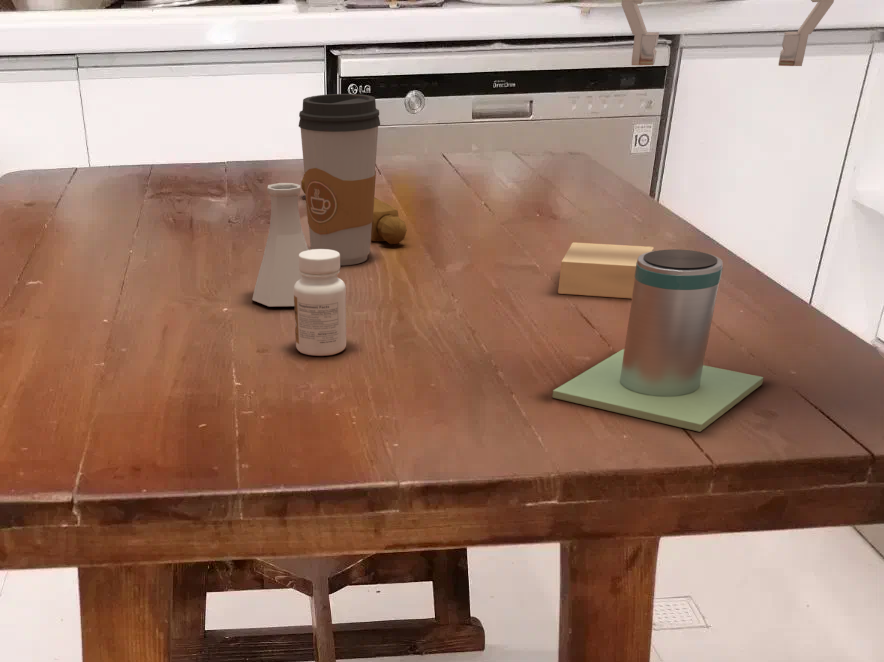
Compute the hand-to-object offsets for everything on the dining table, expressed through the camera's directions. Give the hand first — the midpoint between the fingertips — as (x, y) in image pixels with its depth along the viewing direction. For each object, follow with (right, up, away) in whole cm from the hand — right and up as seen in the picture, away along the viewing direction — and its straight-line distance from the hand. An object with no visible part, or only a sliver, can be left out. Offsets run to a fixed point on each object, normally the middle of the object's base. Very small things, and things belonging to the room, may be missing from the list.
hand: (715, 65), depth 73 cm
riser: (+2, 0, +35) cm, 35 cm away
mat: (0, -18, +12) cm, 22 cm away
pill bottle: (-27, -11, +22) cm, 36 cm away
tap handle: (-23, +18, +60) cm, 67 cm away
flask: (-30, -2, +34) cm, 45 cm away
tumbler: (+1, -12, +11) cm, 16 cm away
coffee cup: (-24, +7, +46) cm, 52 cm away
